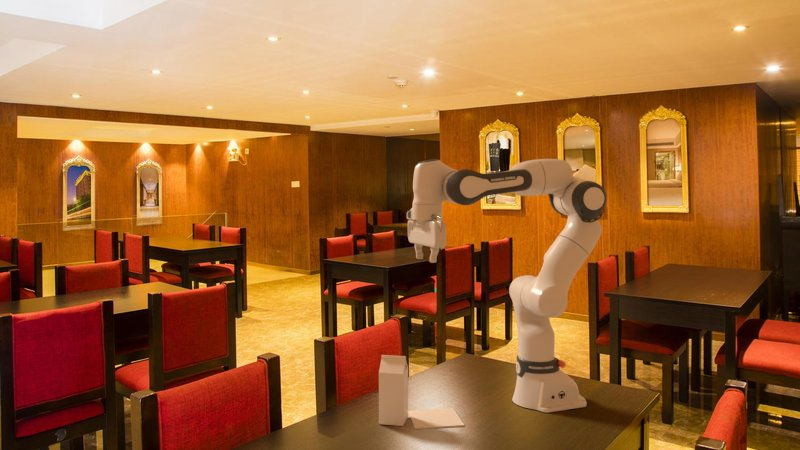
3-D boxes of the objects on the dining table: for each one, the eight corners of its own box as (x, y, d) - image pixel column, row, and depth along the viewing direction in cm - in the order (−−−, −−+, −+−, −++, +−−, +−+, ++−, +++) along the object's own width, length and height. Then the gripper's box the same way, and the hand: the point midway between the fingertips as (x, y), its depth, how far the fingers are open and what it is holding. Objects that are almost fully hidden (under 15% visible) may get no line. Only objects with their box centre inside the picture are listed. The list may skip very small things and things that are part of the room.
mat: (453, 409, 176) (453, 407, 176) (464, 426, 164) (464, 424, 164) (407, 411, 174) (407, 410, 174) (415, 429, 161) (415, 427, 161)
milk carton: (403, 426, 163) (403, 359, 162) (378, 424, 165) (378, 358, 164) (408, 417, 170) (408, 353, 169) (384, 415, 172) (384, 351, 171)
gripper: (452, 215, 164) (451, 264, 165) (422, 213, 183) (421, 256, 184) (432, 215, 162) (431, 265, 163) (404, 212, 181) (403, 257, 182)
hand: (426, 260), depth 173 cm, fingers open, 8 cm apart
